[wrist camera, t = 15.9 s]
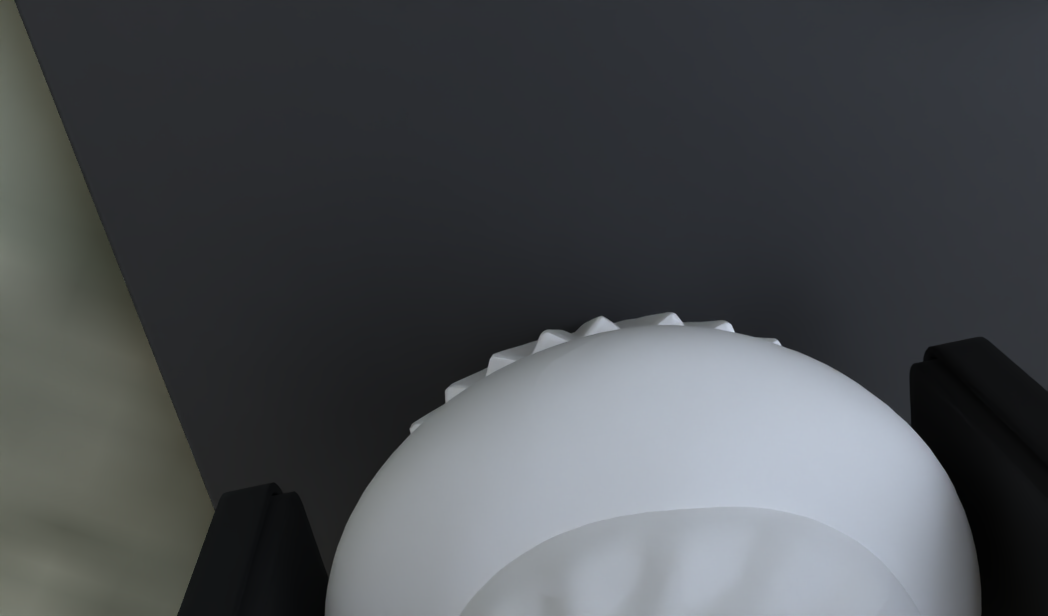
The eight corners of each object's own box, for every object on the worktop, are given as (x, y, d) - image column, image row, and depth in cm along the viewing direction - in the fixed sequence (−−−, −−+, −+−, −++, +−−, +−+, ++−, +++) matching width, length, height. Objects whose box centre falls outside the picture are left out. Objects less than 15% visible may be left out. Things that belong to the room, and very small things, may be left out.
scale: (-92, -420, 10) (-302, -534, 7) (1358, -740, 10) (1724, -985, 7) (348, 758, 16) (328, 936, 14) (1207, 586, 16) (1360, 731, 13)
